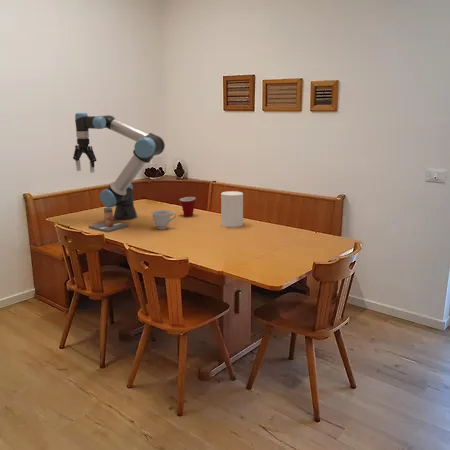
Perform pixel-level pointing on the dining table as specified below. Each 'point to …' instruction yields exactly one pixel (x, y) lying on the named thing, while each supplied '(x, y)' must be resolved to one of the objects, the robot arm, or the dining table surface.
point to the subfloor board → (108, 229)
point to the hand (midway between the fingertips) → (85, 171)
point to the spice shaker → (108, 217)
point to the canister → (232, 209)
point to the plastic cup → (188, 205)
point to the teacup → (162, 218)
